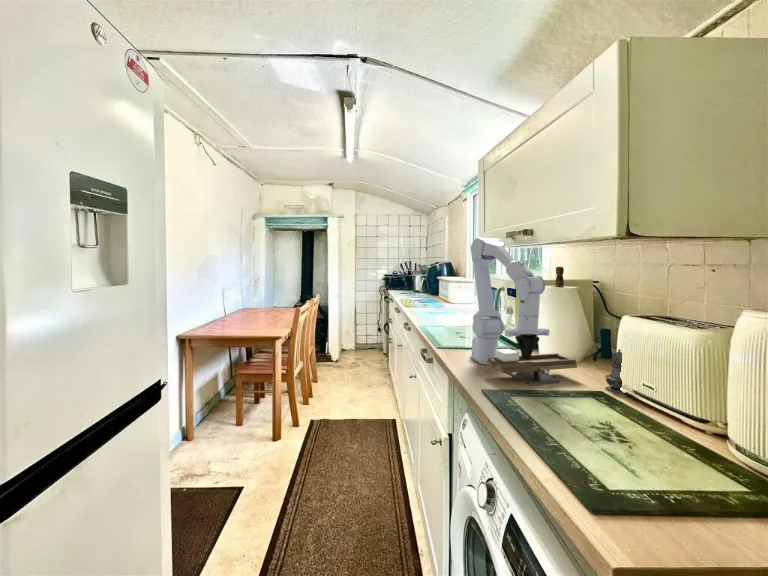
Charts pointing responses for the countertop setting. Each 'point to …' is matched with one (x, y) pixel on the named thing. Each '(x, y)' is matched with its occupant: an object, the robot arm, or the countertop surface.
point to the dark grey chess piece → (615, 374)
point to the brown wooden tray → (534, 363)
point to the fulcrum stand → (536, 377)
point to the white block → (506, 356)
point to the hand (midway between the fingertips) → (525, 358)
